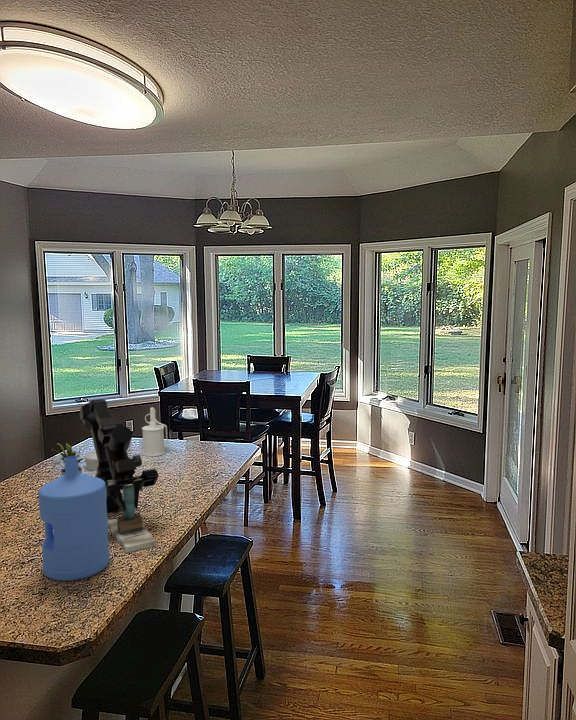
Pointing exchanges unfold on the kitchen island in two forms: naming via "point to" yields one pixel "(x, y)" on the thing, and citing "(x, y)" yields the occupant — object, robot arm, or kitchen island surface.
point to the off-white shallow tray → (132, 538)
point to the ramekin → (91, 461)
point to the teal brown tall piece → (129, 513)
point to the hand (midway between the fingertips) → (130, 509)
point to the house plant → (69, 453)
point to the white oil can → (153, 436)
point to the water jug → (74, 525)
